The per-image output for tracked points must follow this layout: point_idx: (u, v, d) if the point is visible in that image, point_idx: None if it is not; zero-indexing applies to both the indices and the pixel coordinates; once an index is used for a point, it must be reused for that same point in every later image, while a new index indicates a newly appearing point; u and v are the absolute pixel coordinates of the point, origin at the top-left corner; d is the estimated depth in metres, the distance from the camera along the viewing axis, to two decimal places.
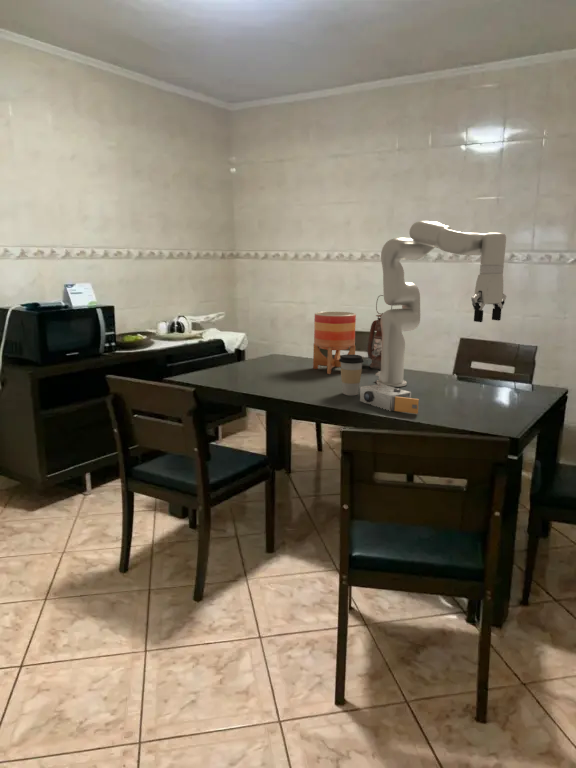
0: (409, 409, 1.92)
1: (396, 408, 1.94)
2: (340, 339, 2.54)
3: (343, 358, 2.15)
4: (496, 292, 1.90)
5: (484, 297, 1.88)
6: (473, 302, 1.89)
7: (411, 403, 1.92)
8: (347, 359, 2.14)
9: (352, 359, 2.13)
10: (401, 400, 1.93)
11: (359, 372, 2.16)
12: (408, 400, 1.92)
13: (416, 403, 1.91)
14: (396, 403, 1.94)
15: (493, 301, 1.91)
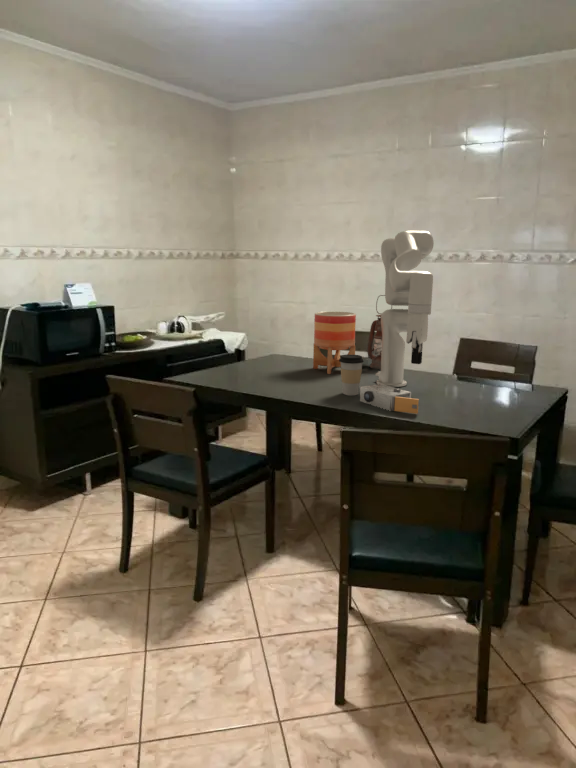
0: (409, 409, 1.92)
1: (396, 408, 1.94)
2: (340, 339, 2.54)
3: (343, 358, 2.15)
4: (425, 331, 1.89)
5: (419, 338, 1.85)
6: (414, 348, 1.88)
7: (411, 403, 1.92)
8: (347, 359, 2.14)
9: (352, 359, 2.13)
10: (401, 400, 1.93)
11: (359, 372, 2.16)
12: (408, 400, 1.92)
13: (416, 403, 1.91)
14: (396, 403, 1.94)
15: (423, 340, 1.89)
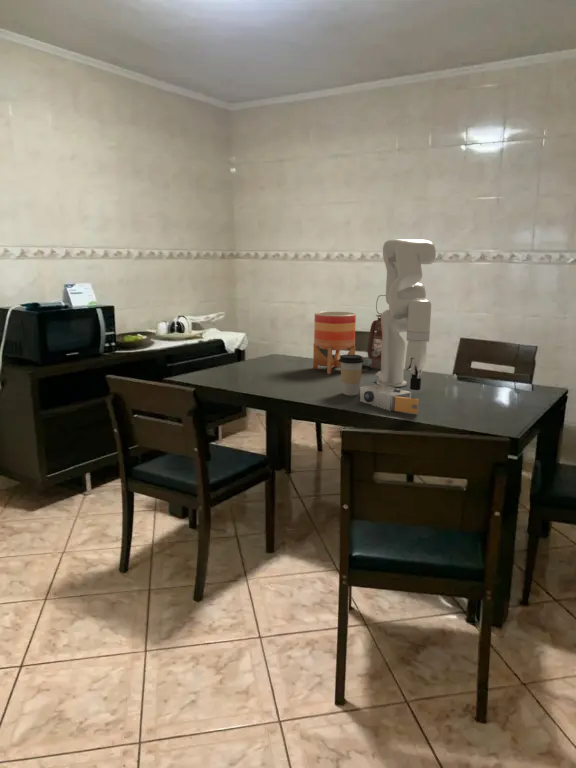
0: (409, 409, 1.92)
1: (396, 408, 1.94)
2: (340, 339, 2.54)
3: (343, 358, 2.15)
4: (424, 358, 1.90)
5: (418, 365, 1.86)
6: (412, 374, 1.89)
7: (411, 403, 1.92)
8: (347, 359, 2.14)
9: (352, 359, 2.13)
10: (401, 400, 1.93)
11: (359, 372, 2.16)
12: (408, 400, 1.92)
13: (416, 403, 1.91)
14: (396, 403, 1.94)
15: (422, 367, 1.91)
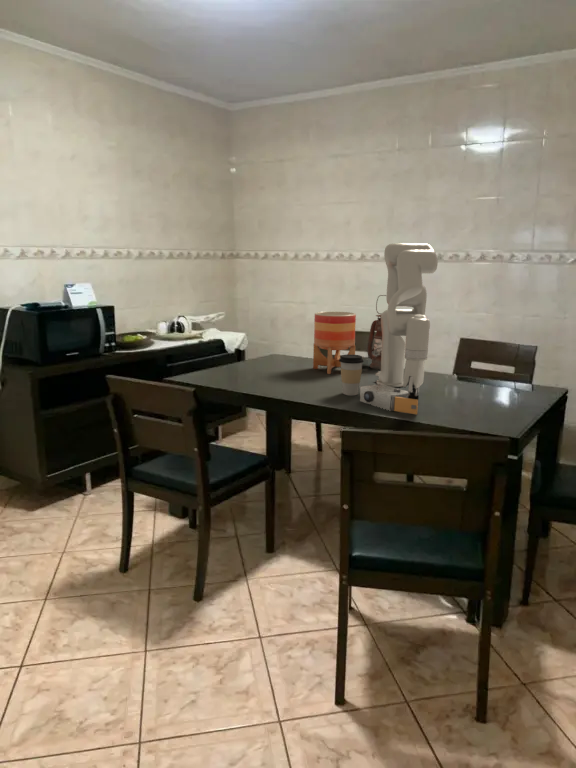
0: (408, 409, 1.92)
1: (396, 408, 1.94)
2: (340, 339, 2.54)
3: (343, 358, 2.15)
4: (422, 375, 1.91)
5: (416, 383, 1.87)
6: (410, 392, 1.90)
7: (410, 403, 1.91)
8: (347, 359, 2.14)
9: (352, 359, 2.13)
10: (401, 400, 1.93)
11: (359, 372, 2.16)
12: (407, 400, 1.91)
13: (415, 404, 1.90)
14: (396, 403, 1.94)
15: (420, 384, 1.91)
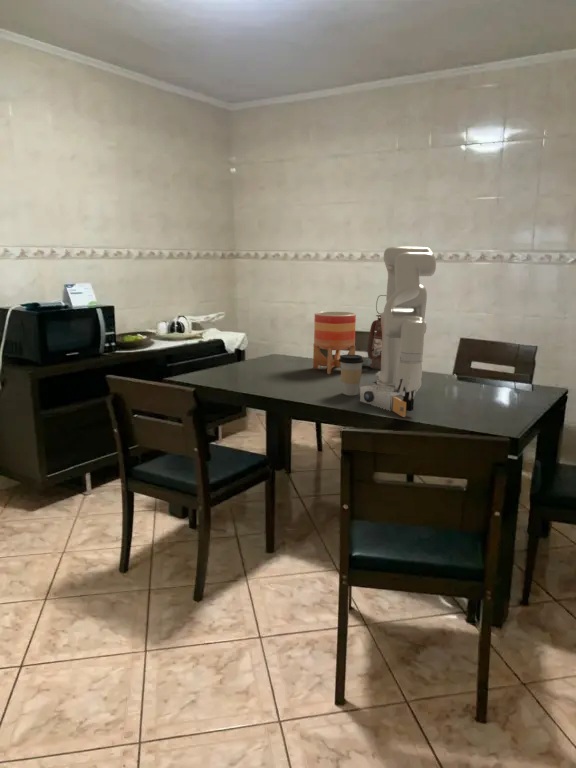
0: (399, 411, 1.90)
1: (393, 408, 1.94)
2: (340, 339, 2.54)
3: (343, 358, 2.15)
4: (416, 379, 1.87)
5: (407, 386, 1.84)
6: (402, 395, 1.87)
7: (400, 405, 1.89)
8: (347, 359, 2.14)
9: (352, 359, 2.13)
10: (396, 401, 1.92)
11: (359, 372, 2.16)
12: (399, 401, 1.89)
13: (403, 406, 1.87)
14: (393, 403, 1.94)
15: (414, 388, 1.87)
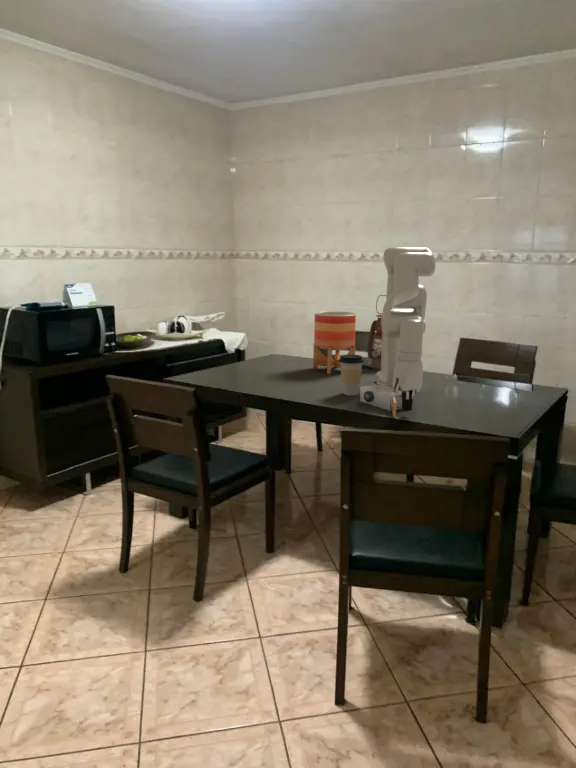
0: None
1: None
2: (340, 339, 2.54)
3: (343, 358, 2.15)
4: (414, 379, 1.85)
5: (401, 385, 1.83)
6: (399, 394, 1.86)
7: (393, 405, 1.89)
8: (347, 359, 2.14)
9: (352, 359, 2.13)
10: None
11: (359, 372, 2.16)
12: (393, 401, 1.89)
13: (393, 406, 1.87)
14: (392, 403, 1.94)
15: (412, 388, 1.86)
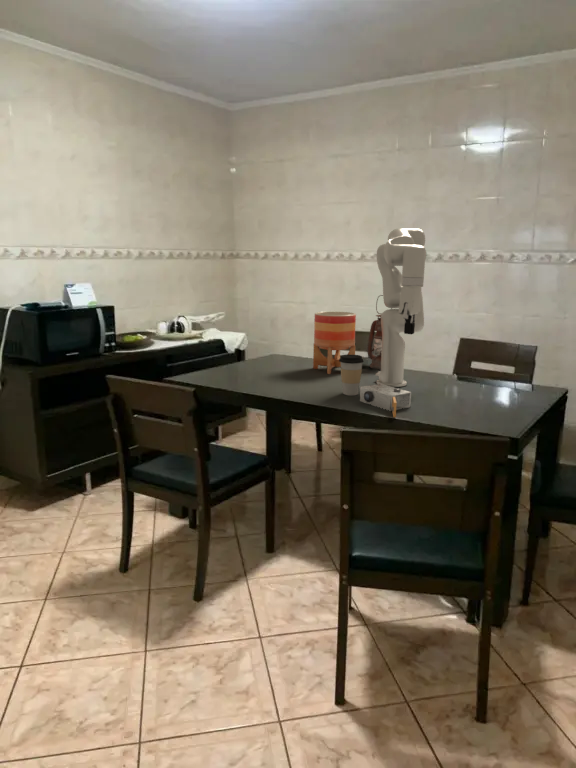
0: None
1: None
2: (340, 339, 2.54)
3: (343, 358, 2.15)
4: (418, 303, 1.98)
5: (410, 309, 1.94)
6: (406, 319, 1.97)
7: (393, 405, 1.89)
8: (347, 359, 2.14)
9: (352, 359, 2.13)
10: None
11: (359, 372, 2.16)
12: (393, 401, 1.89)
13: (393, 406, 1.87)
14: (392, 403, 1.94)
15: (415, 311, 1.98)
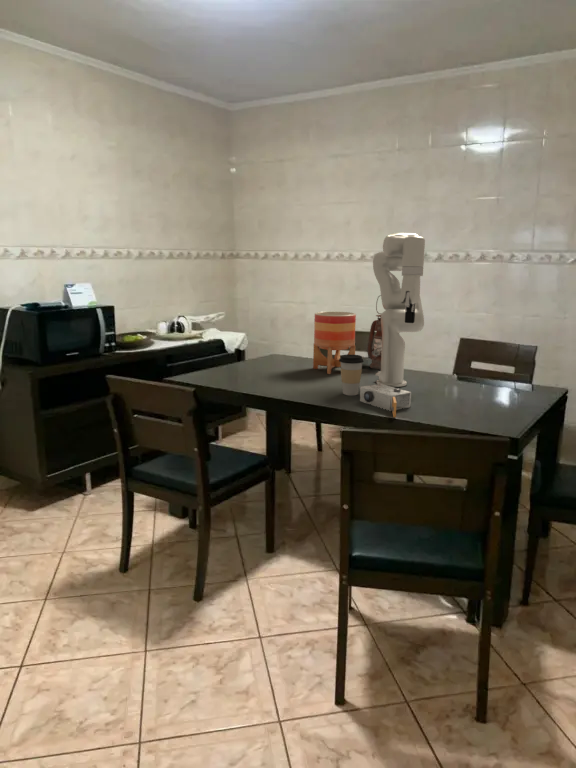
0: None
1: None
2: (340, 339, 2.54)
3: (343, 358, 2.15)
4: (418, 292, 2.03)
5: (412, 297, 1.99)
6: (407, 307, 2.01)
7: (393, 405, 1.89)
8: (347, 359, 2.14)
9: (352, 359, 2.13)
10: None
11: (359, 372, 2.16)
12: (393, 401, 1.89)
13: (393, 406, 1.87)
14: (392, 403, 1.94)
15: (416, 300, 2.03)
